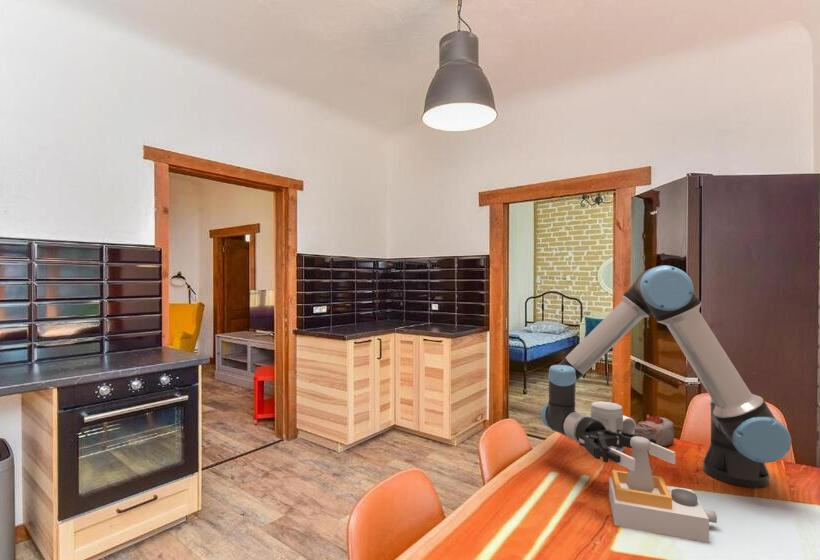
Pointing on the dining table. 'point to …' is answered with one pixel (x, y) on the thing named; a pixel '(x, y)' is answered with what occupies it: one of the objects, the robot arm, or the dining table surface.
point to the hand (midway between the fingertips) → (654, 461)
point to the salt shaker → (640, 466)
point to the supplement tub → (608, 417)
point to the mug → (628, 425)
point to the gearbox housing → (659, 509)
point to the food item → (656, 430)
